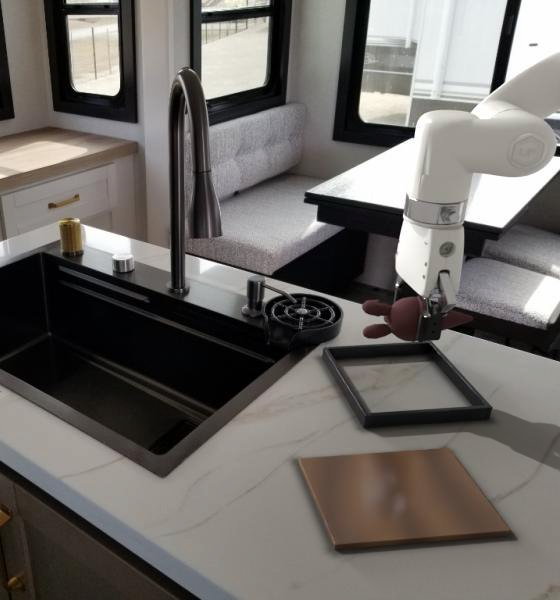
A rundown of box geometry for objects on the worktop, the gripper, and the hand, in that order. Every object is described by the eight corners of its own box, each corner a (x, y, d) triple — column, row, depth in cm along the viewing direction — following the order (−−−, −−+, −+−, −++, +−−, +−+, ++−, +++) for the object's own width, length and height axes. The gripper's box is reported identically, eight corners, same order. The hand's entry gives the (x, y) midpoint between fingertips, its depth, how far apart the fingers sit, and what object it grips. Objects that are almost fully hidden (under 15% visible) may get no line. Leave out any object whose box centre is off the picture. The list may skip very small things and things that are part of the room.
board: (447, 452, 83) (448, 447, 83) (509, 535, 71) (510, 530, 71) (298, 463, 82) (298, 458, 82) (334, 549, 70) (335, 544, 69)
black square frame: (429, 352, 106) (431, 340, 105) (489, 420, 89) (492, 407, 88) (321, 358, 104) (323, 347, 103) (363, 428, 88) (365, 415, 87)
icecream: (467, 289, 93) (359, 291, 96) (480, 299, 86) (364, 302, 89) (466, 335, 94) (360, 336, 97) (479, 349, 87) (364, 350, 90)
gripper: (499, 229, 76) (471, 355, 84) (431, 187, 92) (413, 297, 100) (438, 233, 76) (416, 360, 84) (380, 190, 91) (366, 301, 99)
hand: (415, 325), depth 92 cm, fingers closed on icecream, 7 cm apart
